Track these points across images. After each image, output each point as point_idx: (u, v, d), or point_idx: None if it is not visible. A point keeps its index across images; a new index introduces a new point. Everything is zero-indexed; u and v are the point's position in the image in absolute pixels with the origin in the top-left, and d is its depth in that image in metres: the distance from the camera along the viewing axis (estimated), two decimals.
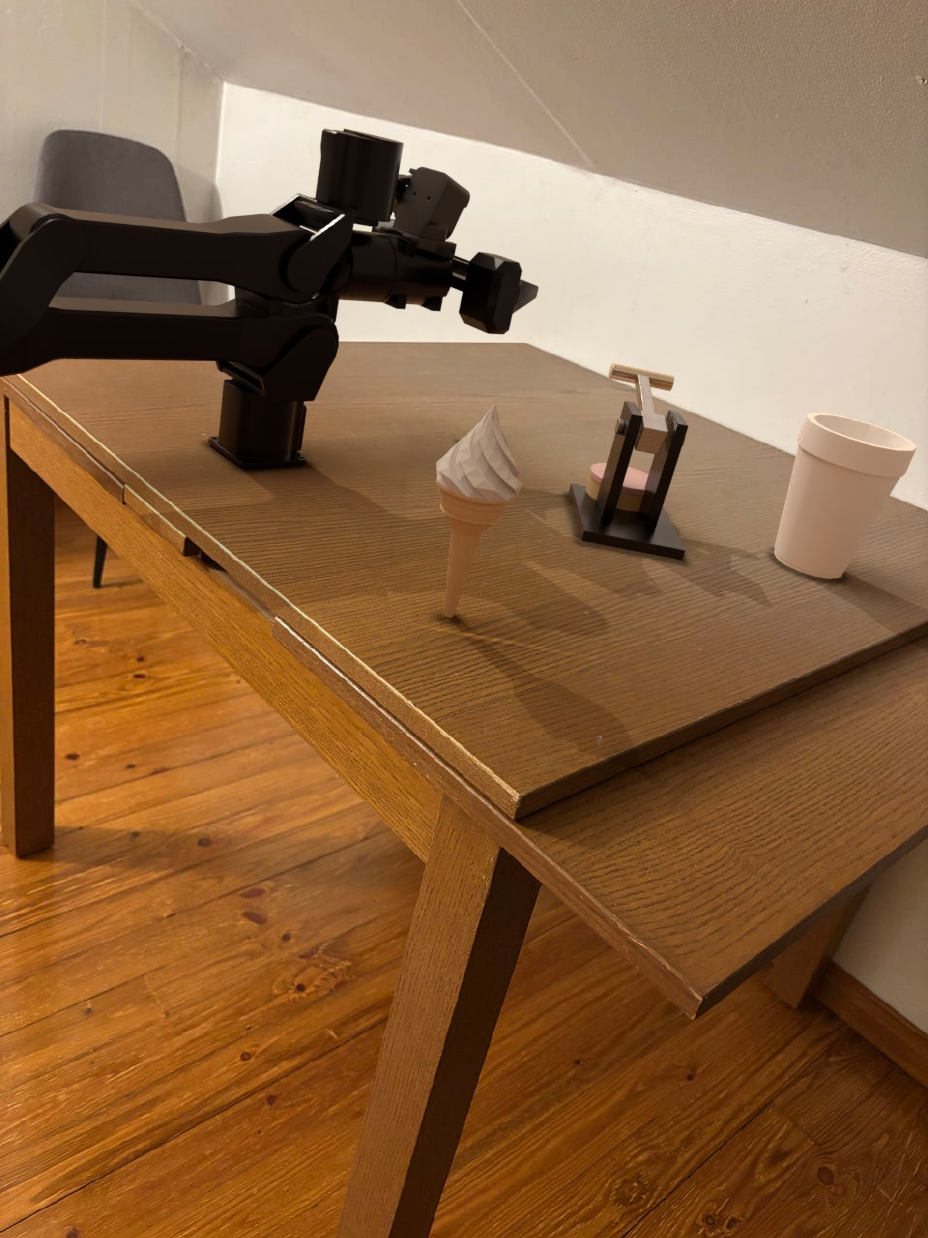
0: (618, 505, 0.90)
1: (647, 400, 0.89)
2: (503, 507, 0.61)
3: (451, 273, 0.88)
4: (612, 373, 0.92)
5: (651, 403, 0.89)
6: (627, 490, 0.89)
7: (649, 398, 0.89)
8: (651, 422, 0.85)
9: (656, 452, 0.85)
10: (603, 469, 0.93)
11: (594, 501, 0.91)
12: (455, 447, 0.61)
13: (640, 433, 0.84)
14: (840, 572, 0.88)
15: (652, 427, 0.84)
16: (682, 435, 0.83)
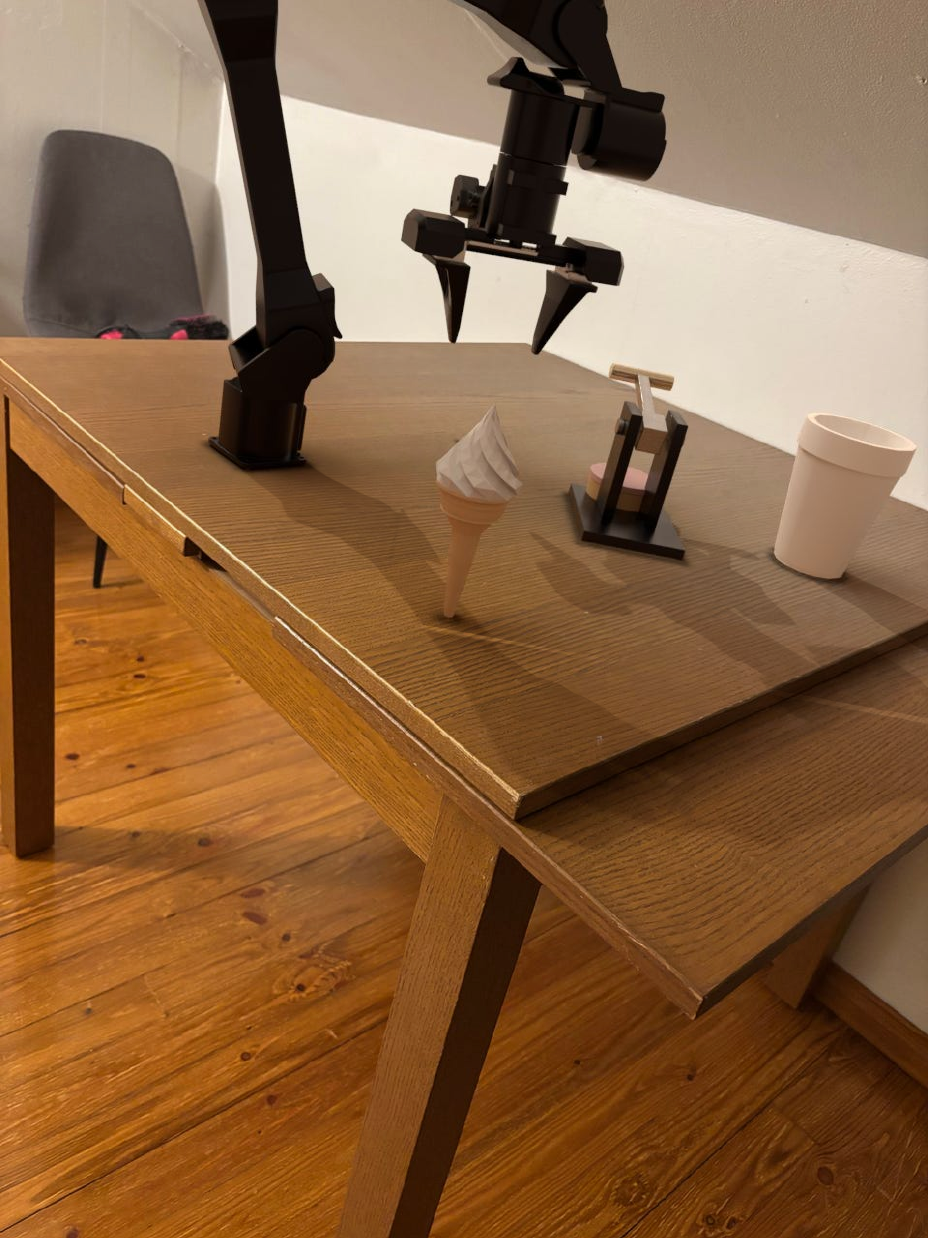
0: (618, 505, 0.90)
1: (647, 400, 0.89)
2: (503, 507, 0.61)
3: None
4: (612, 373, 0.92)
5: (651, 403, 0.89)
6: (627, 490, 0.89)
7: (649, 398, 0.89)
8: (651, 422, 0.85)
9: (656, 452, 0.85)
10: (603, 469, 0.93)
11: (594, 501, 0.91)
12: (455, 447, 0.61)
13: (640, 433, 0.84)
14: (840, 572, 0.88)
15: (652, 427, 0.84)
16: (682, 435, 0.83)
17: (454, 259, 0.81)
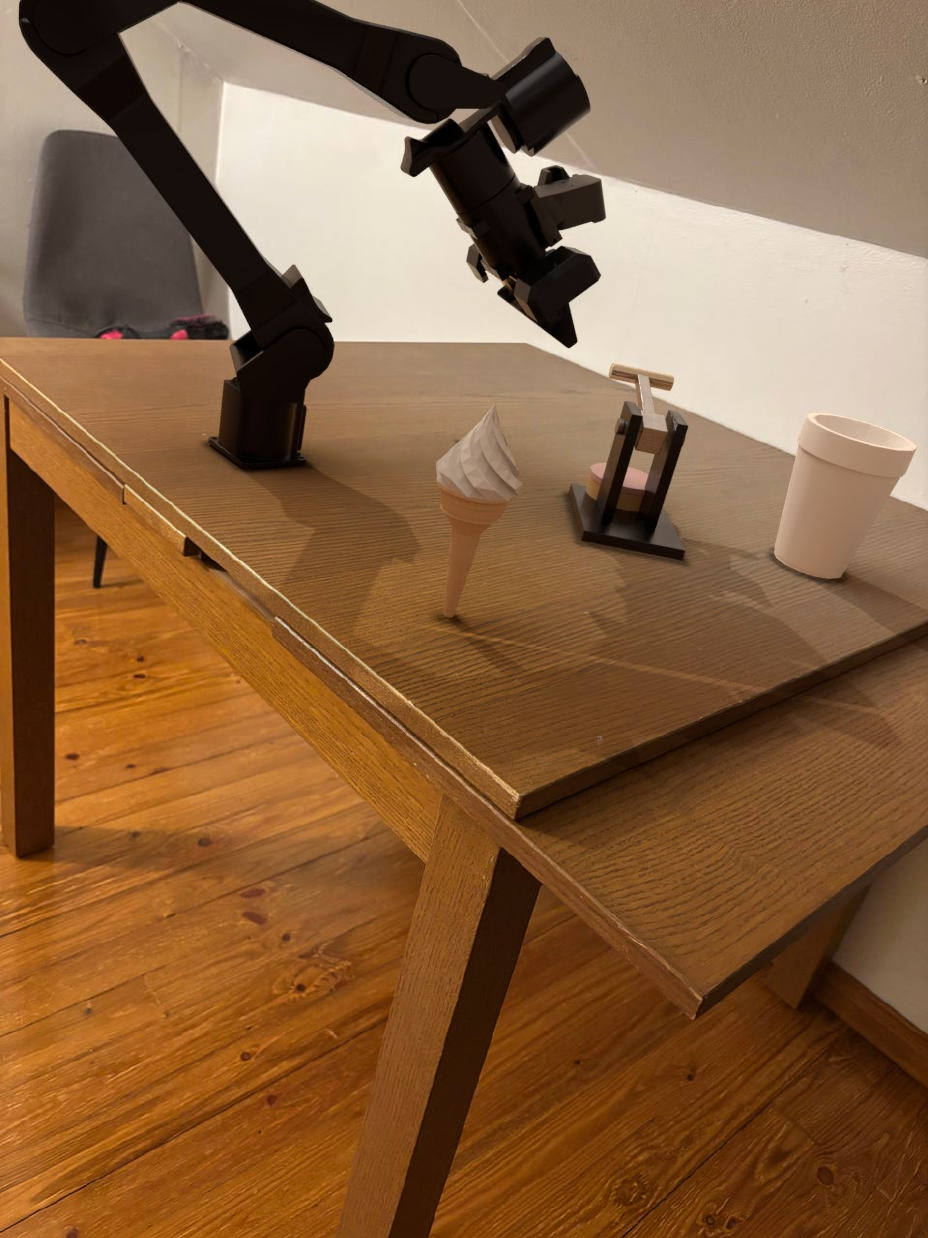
0: (618, 505, 0.90)
1: (647, 400, 0.89)
2: (503, 507, 0.61)
3: (538, 258, 0.82)
4: (612, 373, 0.92)
5: (651, 403, 0.89)
6: (627, 490, 0.89)
7: (649, 398, 0.89)
8: (651, 422, 0.85)
9: (656, 452, 0.85)
10: (603, 469, 0.93)
11: (594, 501, 0.91)
12: (455, 447, 0.61)
13: (640, 433, 0.84)
14: (840, 572, 0.88)
15: (652, 427, 0.84)
16: (682, 435, 0.83)
17: (507, 288, 0.87)
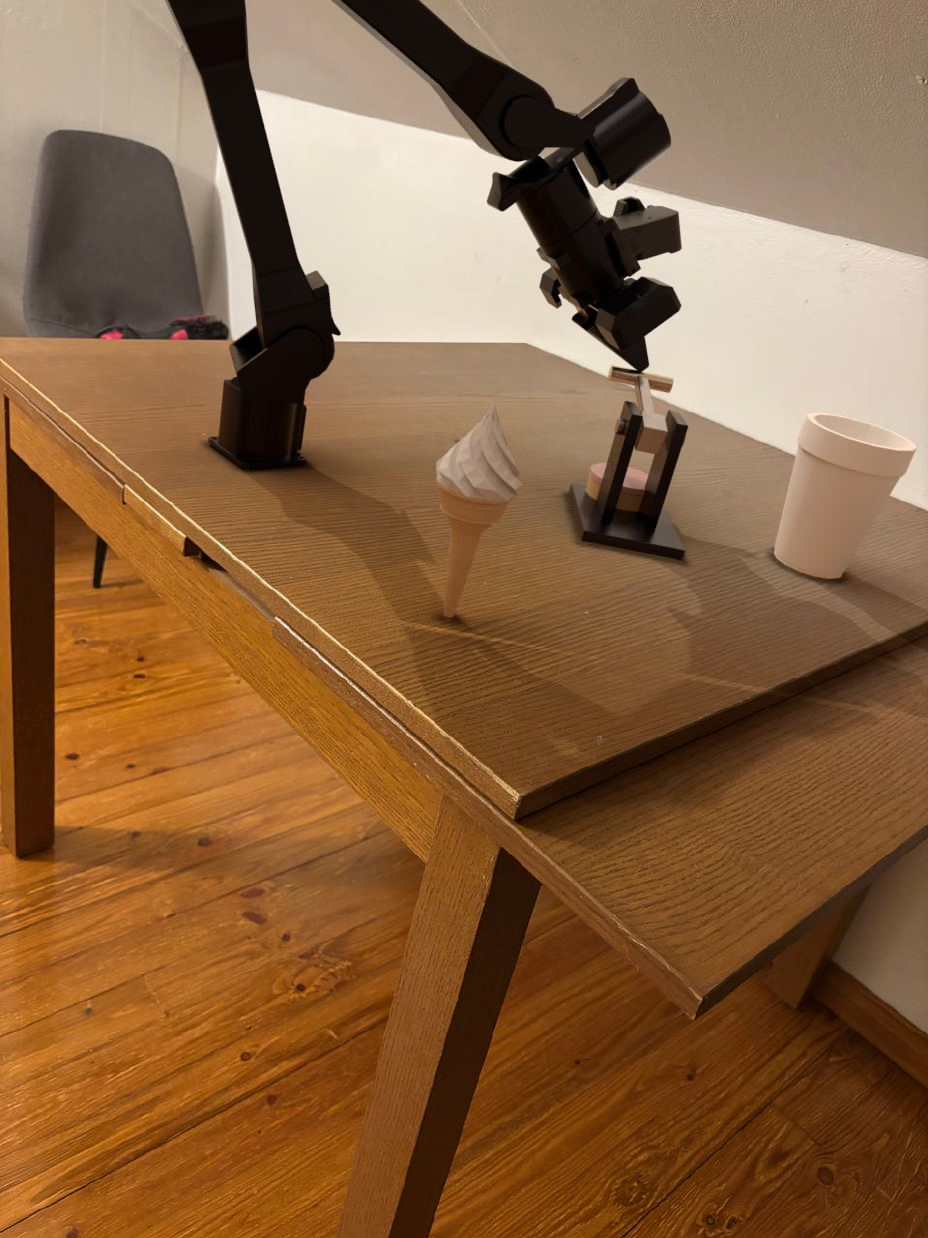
0: (618, 505, 0.90)
1: (647, 401, 0.89)
2: (503, 507, 0.61)
3: (617, 287, 0.85)
4: (611, 375, 0.92)
5: (651, 404, 0.89)
6: (627, 490, 0.89)
7: (648, 399, 0.89)
8: (651, 422, 0.85)
9: (656, 452, 0.85)
10: (603, 469, 0.93)
11: (594, 501, 0.91)
12: (455, 447, 0.61)
13: (640, 433, 0.84)
14: (840, 572, 0.88)
15: (652, 427, 0.84)
16: (682, 435, 0.83)
17: (582, 314, 0.91)
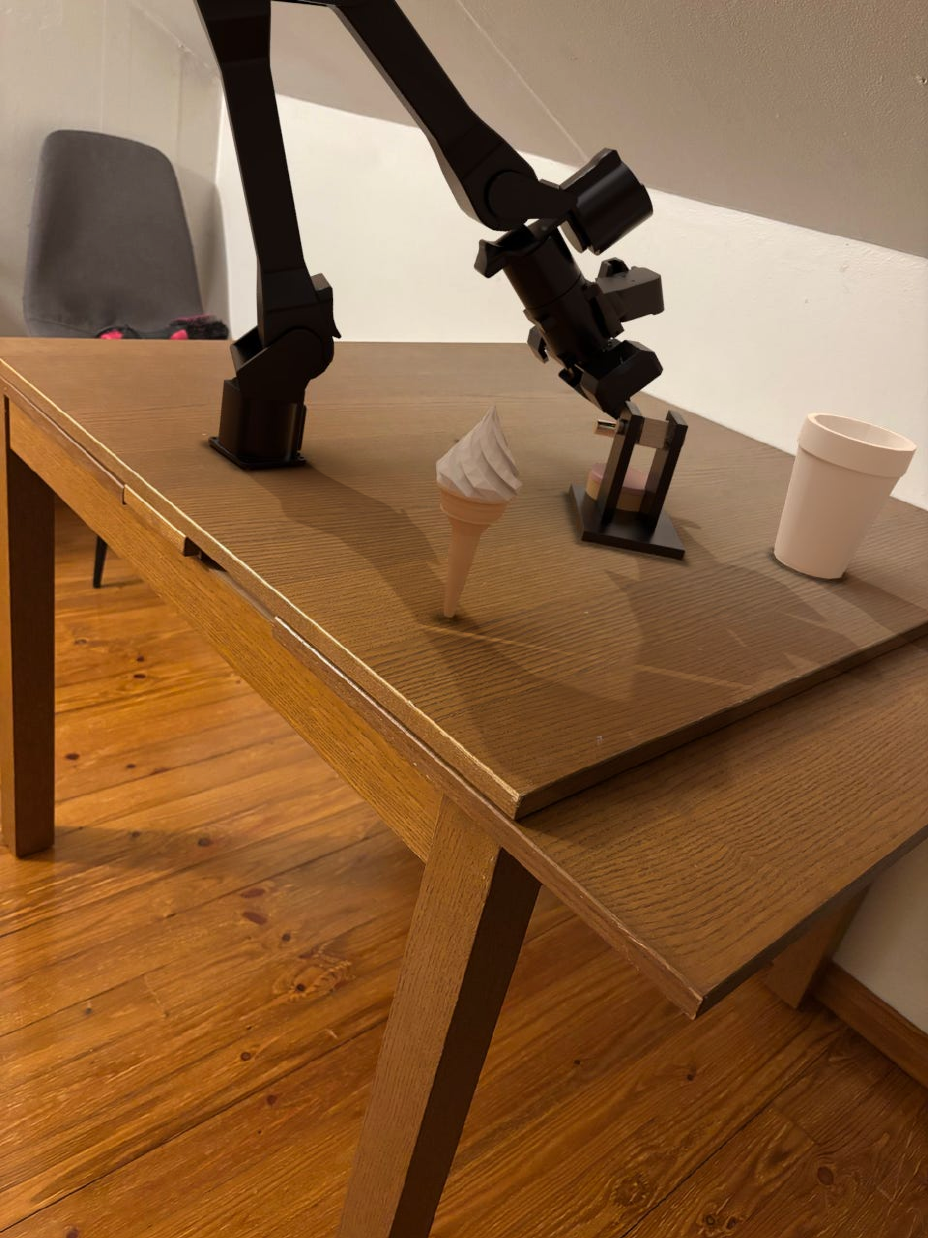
0: (618, 505, 0.90)
1: None
2: (503, 507, 0.61)
3: (601, 348, 0.87)
4: (598, 426, 0.94)
5: None
6: (627, 490, 0.89)
7: None
8: None
9: (660, 445, 0.84)
10: (603, 469, 0.93)
11: (594, 501, 0.91)
12: (455, 447, 0.61)
13: (642, 425, 0.84)
14: (840, 572, 0.88)
15: (653, 418, 0.84)
16: (682, 435, 0.83)
17: (568, 371, 0.93)
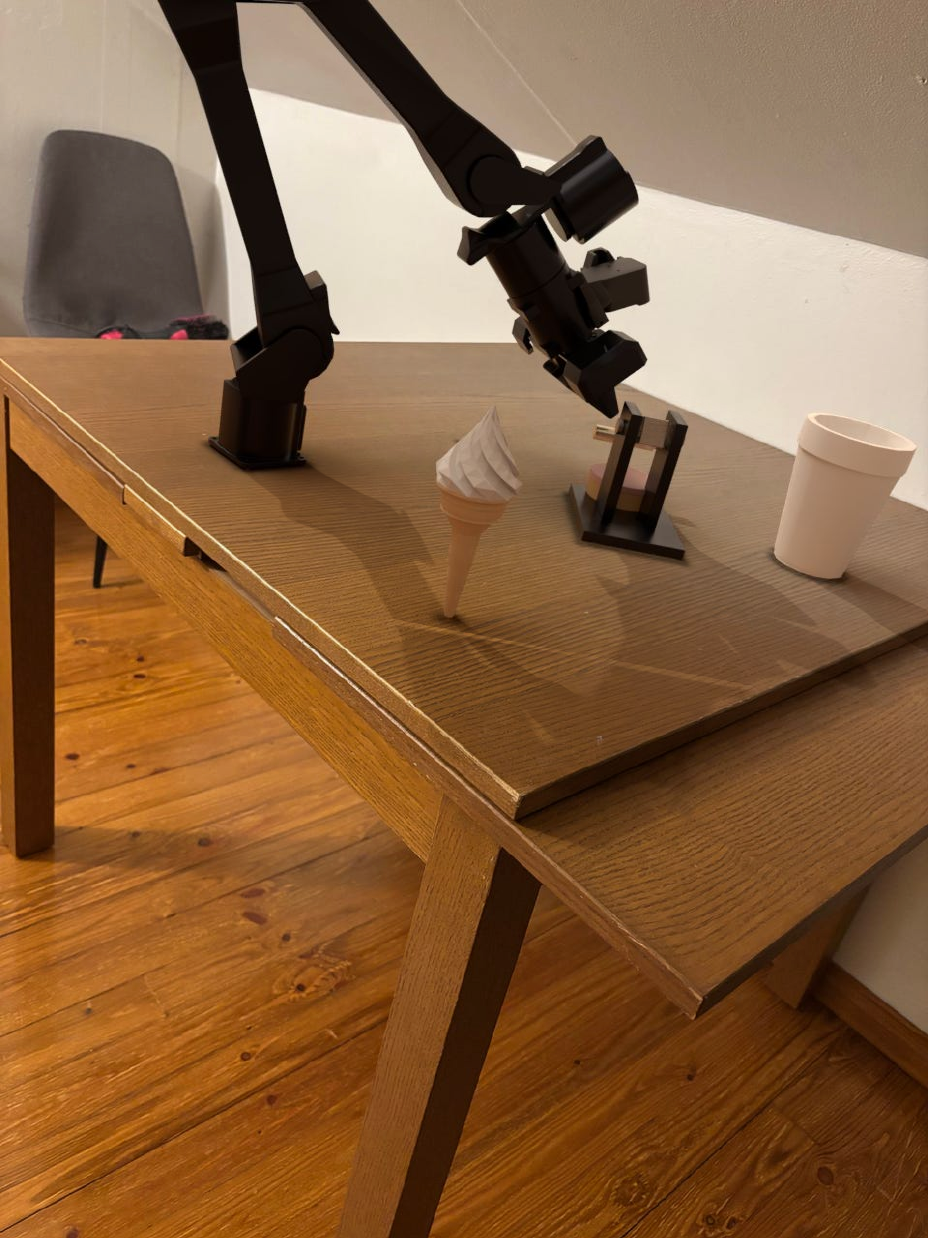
0: (618, 505, 0.90)
1: None
2: (503, 507, 0.61)
3: (585, 338, 0.86)
4: (596, 430, 0.95)
5: None
6: (627, 490, 0.89)
7: None
8: None
9: (660, 445, 0.84)
10: (603, 469, 0.93)
11: (594, 501, 0.91)
12: (455, 447, 0.61)
13: (642, 425, 0.84)
14: (840, 572, 0.88)
15: (653, 417, 0.84)
16: (682, 435, 0.83)
17: (553, 362, 0.92)
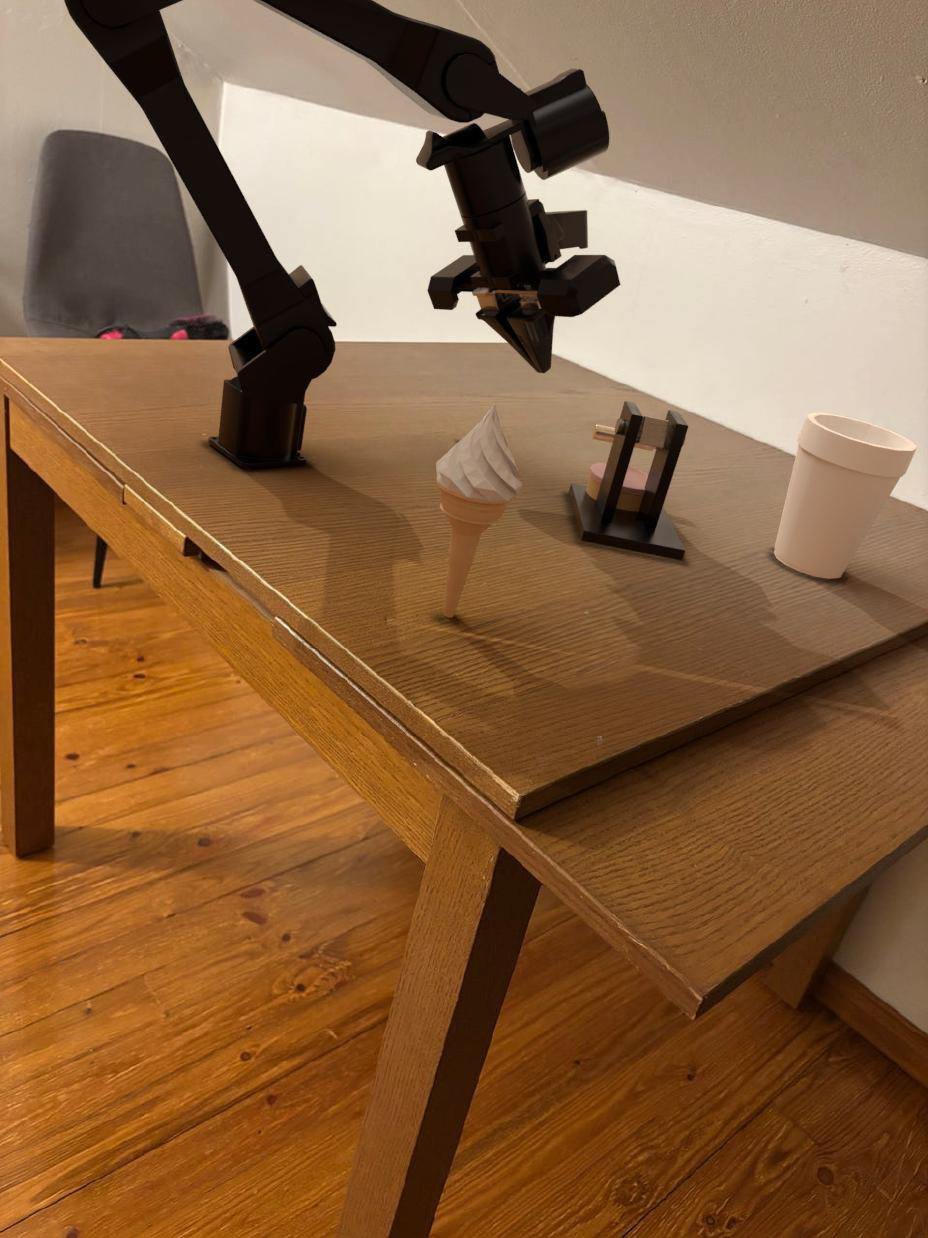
0: (618, 505, 0.90)
1: None
2: (503, 507, 0.61)
3: (541, 270, 0.84)
4: (596, 430, 0.95)
5: None
6: (627, 490, 0.89)
7: None
8: None
9: (660, 445, 0.84)
10: (603, 469, 0.93)
11: (594, 501, 0.91)
12: (455, 447, 0.61)
13: (642, 425, 0.84)
14: (840, 572, 0.88)
15: (653, 417, 0.84)
16: (682, 435, 0.83)
17: (490, 308, 0.87)
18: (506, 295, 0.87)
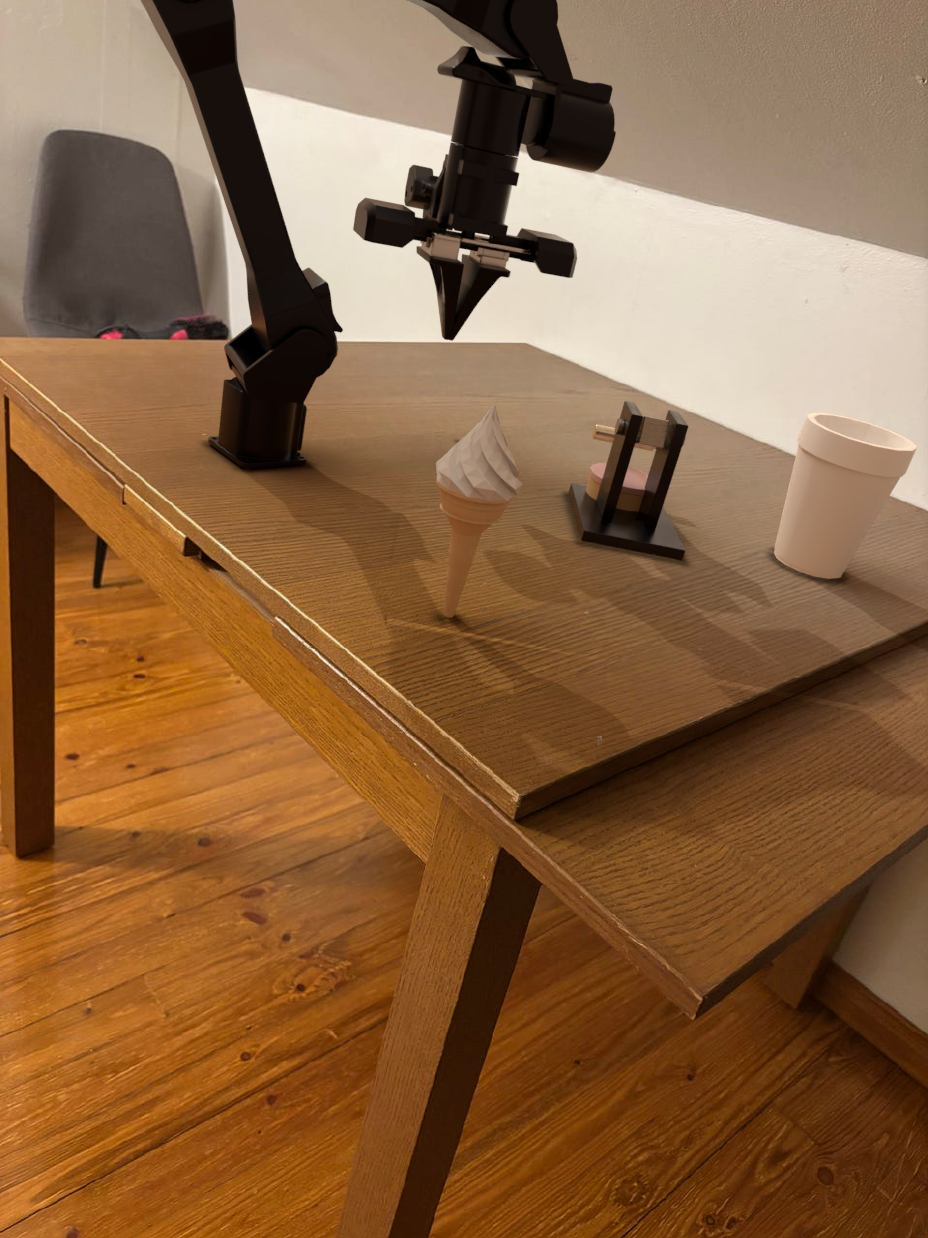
0: (618, 505, 0.90)
1: None
2: (503, 507, 0.61)
3: None
4: (596, 430, 0.95)
5: None
6: (627, 490, 0.89)
7: None
8: None
9: (660, 445, 0.84)
10: (603, 469, 0.93)
11: (594, 501, 0.91)
12: (455, 447, 0.61)
13: (642, 425, 0.84)
14: (840, 572, 0.88)
15: (653, 417, 0.84)
16: (682, 435, 0.83)
17: (448, 256, 0.82)
18: None
